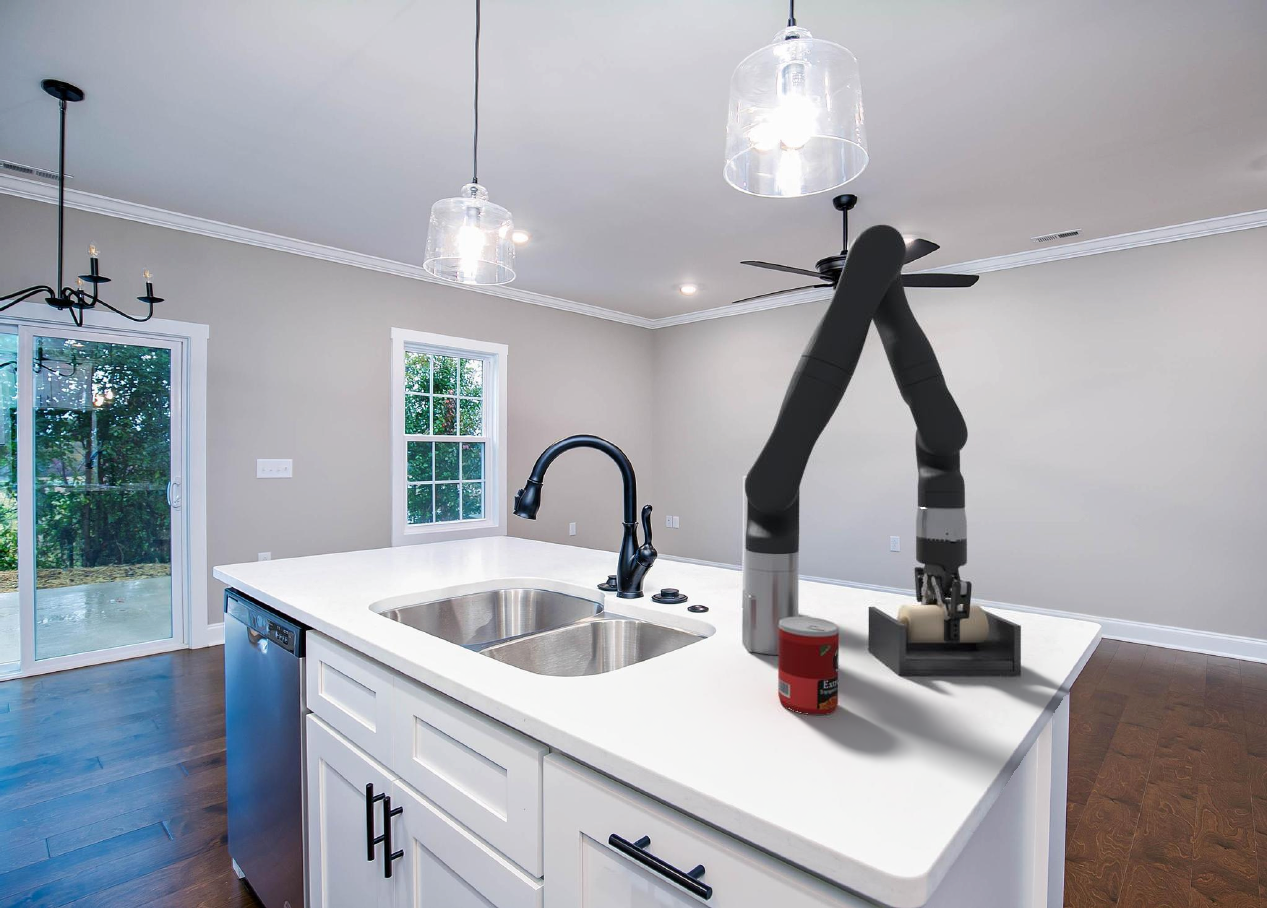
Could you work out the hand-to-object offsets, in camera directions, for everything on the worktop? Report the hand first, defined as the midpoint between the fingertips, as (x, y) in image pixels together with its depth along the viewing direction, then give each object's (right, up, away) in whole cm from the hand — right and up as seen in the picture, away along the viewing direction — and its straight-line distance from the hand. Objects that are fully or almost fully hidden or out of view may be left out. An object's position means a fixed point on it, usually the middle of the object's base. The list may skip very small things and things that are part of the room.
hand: (941, 636), depth 101 cm
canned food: (-27, -4, -17) cm, 32 cm away
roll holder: (0, -4, 0) cm, 4 cm away
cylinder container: (-22, -5, +36) cm, 42 cm away
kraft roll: (0, -1, 0) cm, 1 cm away
